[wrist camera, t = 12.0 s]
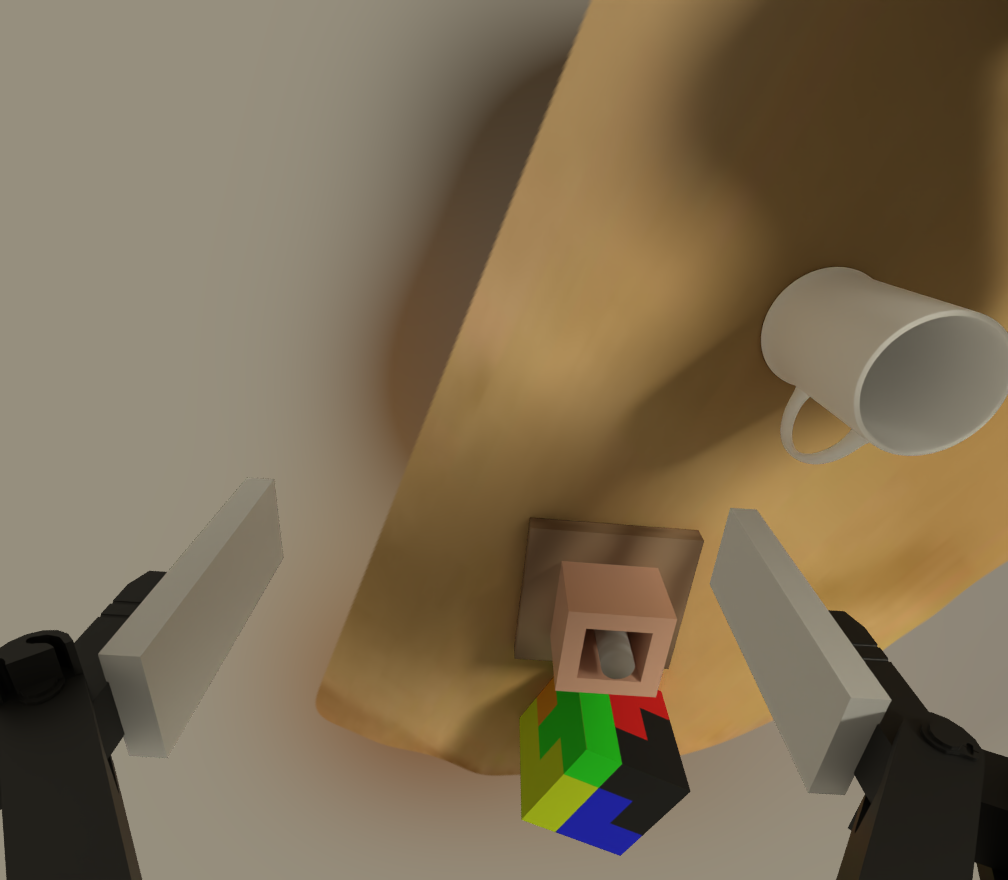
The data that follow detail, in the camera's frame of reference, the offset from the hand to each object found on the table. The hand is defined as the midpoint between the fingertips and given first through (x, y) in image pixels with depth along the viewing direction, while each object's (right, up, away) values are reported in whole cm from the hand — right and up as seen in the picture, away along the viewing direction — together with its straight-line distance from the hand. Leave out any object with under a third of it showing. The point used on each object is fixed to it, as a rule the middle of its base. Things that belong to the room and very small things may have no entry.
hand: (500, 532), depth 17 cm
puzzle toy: (+8, -23, +40) cm, 47 cm away
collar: (+8, -11, +33) cm, 36 cm away
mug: (+22, +9, +25) cm, 34 cm away
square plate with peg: (+9, -11, +34) cm, 37 cm away
